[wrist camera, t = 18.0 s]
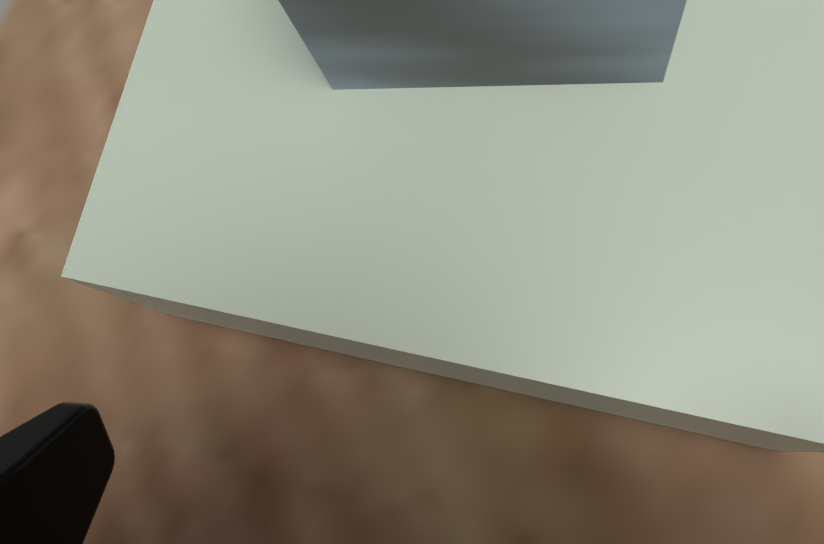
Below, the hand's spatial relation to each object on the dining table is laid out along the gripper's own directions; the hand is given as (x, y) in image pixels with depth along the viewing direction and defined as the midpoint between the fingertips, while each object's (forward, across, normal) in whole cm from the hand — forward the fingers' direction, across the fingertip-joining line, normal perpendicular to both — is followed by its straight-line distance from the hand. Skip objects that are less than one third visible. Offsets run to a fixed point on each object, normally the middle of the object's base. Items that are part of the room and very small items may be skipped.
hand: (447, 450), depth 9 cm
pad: (+11, 0, -1) cm, 11 cm away
